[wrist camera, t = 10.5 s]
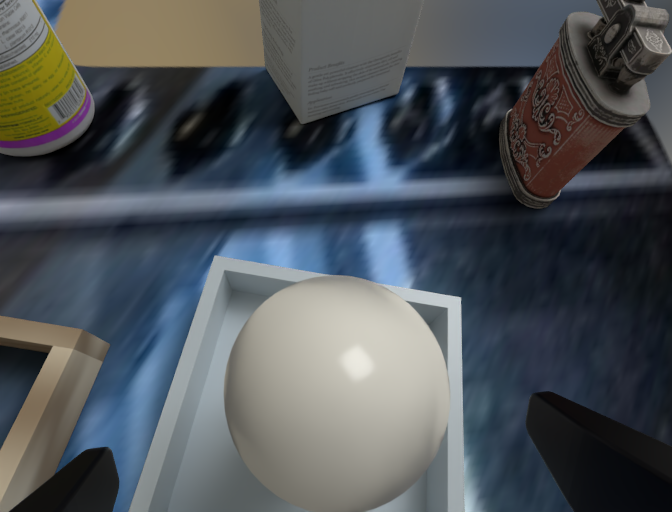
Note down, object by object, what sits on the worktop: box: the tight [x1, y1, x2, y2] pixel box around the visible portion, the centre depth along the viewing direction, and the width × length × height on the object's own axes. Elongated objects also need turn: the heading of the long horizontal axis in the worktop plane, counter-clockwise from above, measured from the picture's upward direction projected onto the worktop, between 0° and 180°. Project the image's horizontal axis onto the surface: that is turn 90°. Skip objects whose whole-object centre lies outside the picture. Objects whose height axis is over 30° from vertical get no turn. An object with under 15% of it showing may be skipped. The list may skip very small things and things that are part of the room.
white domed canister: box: [223, 275, 450, 512], centre depth 12 cm, size 4×4×10 cm
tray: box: [129, 256, 465, 512], centre depth 15 cm, size 11×11×3 cm
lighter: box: [499, 0, 672, 208], centre depth 21 cm, size 8×3×10 cm, turn 176°
